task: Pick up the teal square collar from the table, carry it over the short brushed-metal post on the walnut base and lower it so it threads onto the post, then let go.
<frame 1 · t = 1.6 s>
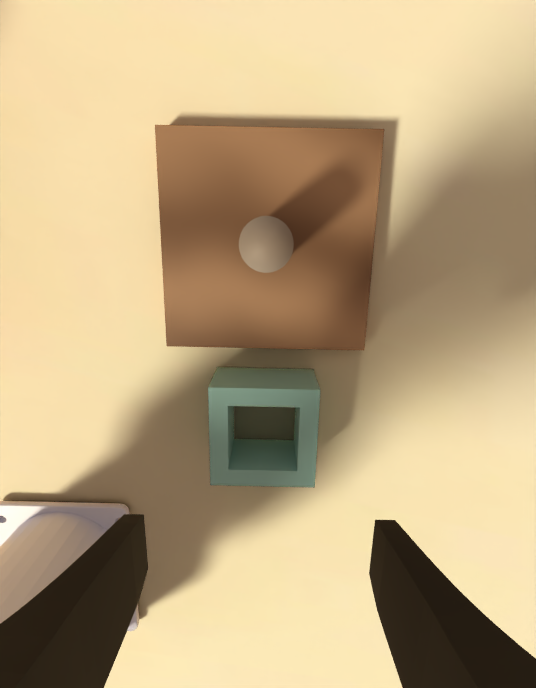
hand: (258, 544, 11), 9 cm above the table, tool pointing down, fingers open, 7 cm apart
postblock: (267, 245, 18), on the table
collar: (264, 412, 20), on the table
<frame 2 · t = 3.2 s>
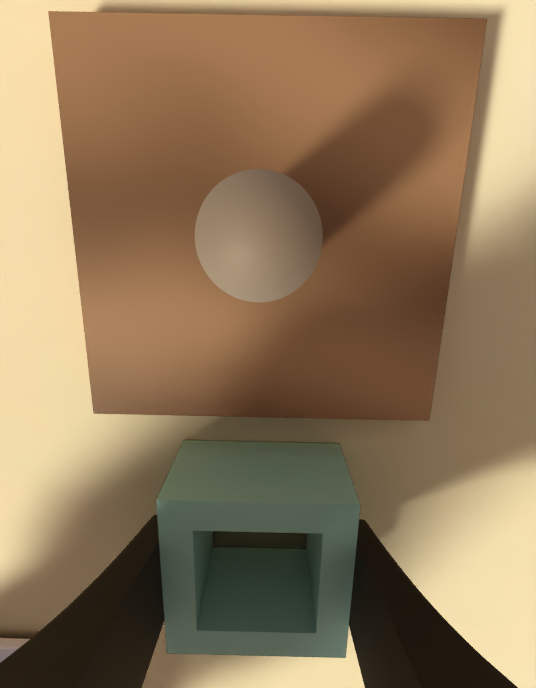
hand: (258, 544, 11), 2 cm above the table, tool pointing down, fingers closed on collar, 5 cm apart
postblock: (264, 243, 10), on the table
collar: (260, 508, 13), on the table, touching gripper
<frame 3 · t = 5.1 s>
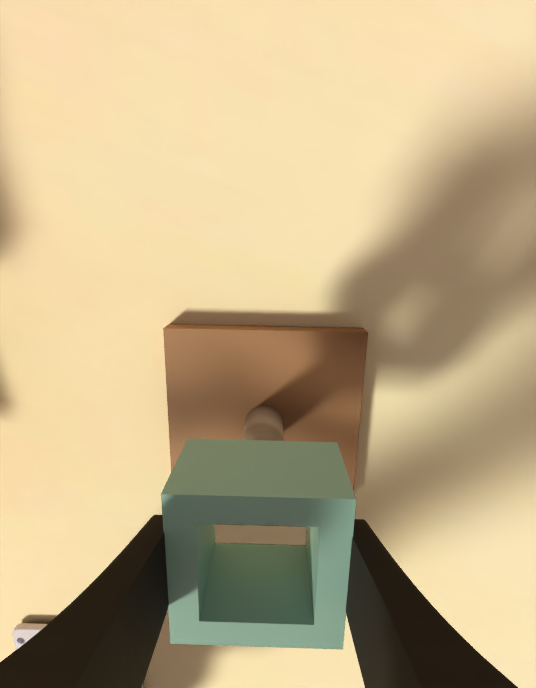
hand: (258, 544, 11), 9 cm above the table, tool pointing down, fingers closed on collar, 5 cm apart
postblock: (264, 415, 20), on the table
collar: (261, 505, 13), point 7 cm above the table, touching gripper
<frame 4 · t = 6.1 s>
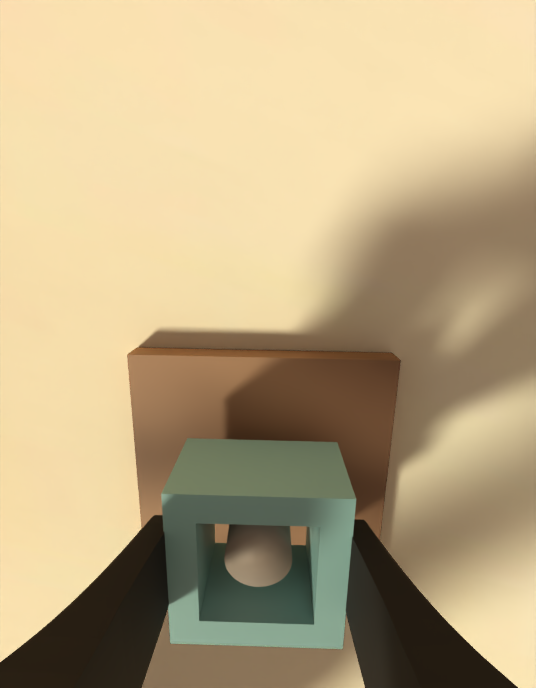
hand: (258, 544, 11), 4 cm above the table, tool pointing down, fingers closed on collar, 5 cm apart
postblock: (262, 462, 15), on the table
collar: (261, 504, 13), point 2 cm above the table, touching gripper
when the fingers open (4 cm above the table, at t = 7.0 s): collar drops 1 cm, resting on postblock.
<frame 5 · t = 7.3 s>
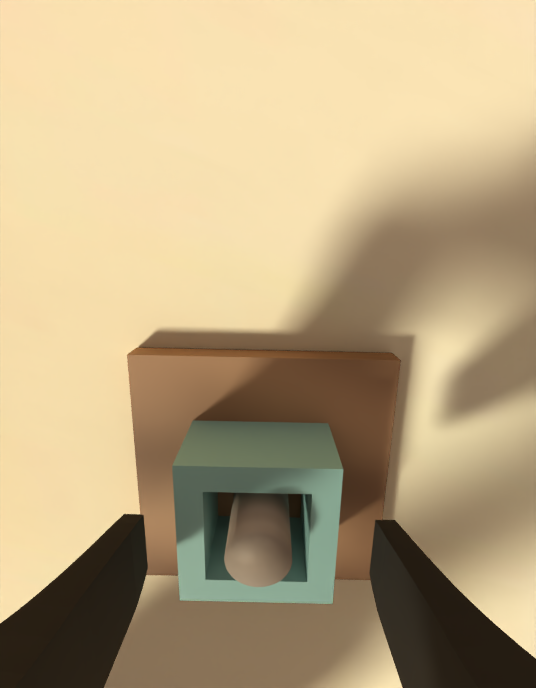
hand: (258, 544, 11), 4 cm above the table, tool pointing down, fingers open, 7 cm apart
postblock: (262, 462, 15), on the table
collar: (259, 480, 15), point 1 cm above the table, touching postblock
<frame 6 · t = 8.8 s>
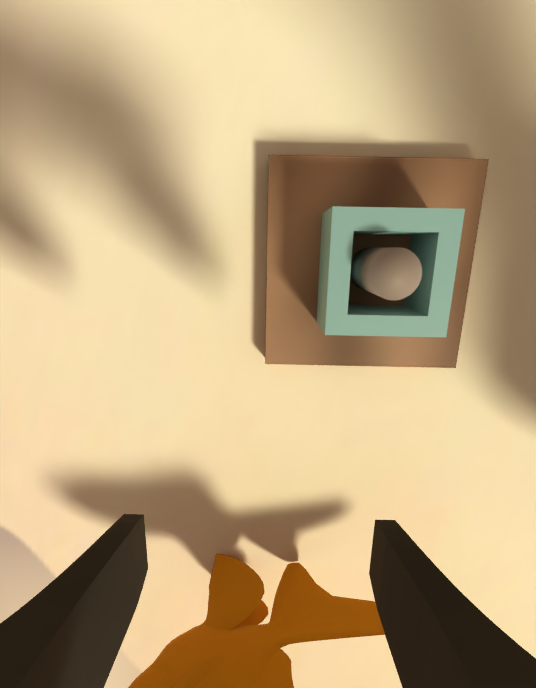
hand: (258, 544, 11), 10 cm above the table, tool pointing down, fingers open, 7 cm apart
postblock: (363, 267, 19), on the table
collar: (372, 270, 18), point 1 cm above the table, touching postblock
toy: (277, 561, 24), on the table
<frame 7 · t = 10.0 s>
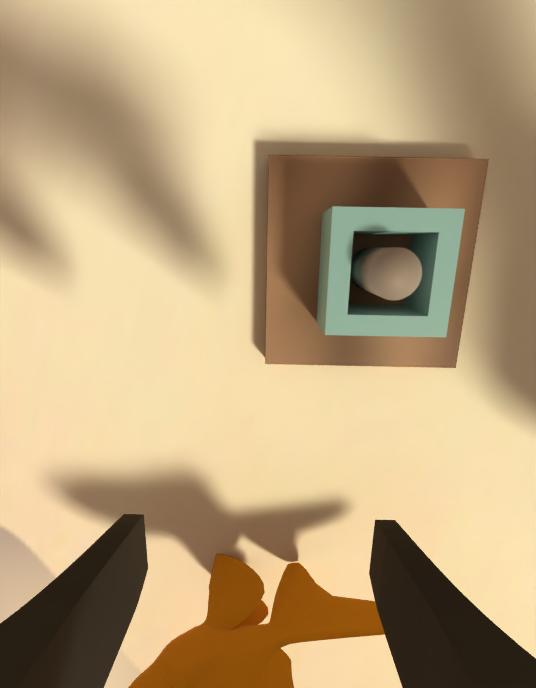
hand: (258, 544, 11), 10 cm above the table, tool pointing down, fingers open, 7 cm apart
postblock: (363, 267, 19), on the table
collar: (372, 270, 18), point 1 cm above the table, touching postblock
toy: (277, 561, 24), on the table
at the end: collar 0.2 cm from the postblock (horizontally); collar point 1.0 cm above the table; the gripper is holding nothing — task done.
